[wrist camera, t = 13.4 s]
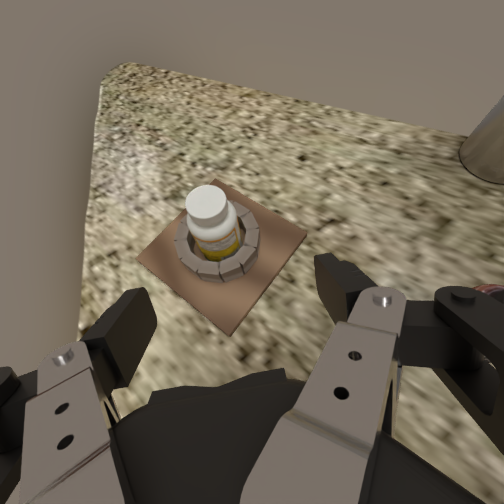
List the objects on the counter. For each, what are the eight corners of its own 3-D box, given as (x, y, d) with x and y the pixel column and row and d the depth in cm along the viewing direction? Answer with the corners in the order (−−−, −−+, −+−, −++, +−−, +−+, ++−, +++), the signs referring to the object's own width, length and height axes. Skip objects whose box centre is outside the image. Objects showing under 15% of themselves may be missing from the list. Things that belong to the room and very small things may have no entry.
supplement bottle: (236, 269, 31) (223, 230, 22) (196, 261, 32) (168, 219, 23) (247, 232, 33) (239, 183, 25) (209, 225, 34) (189, 175, 26)
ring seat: (216, 183, 39) (210, 163, 35) (306, 236, 34) (310, 220, 30) (139, 261, 34) (123, 248, 30) (230, 336, 29) (223, 332, 25)
